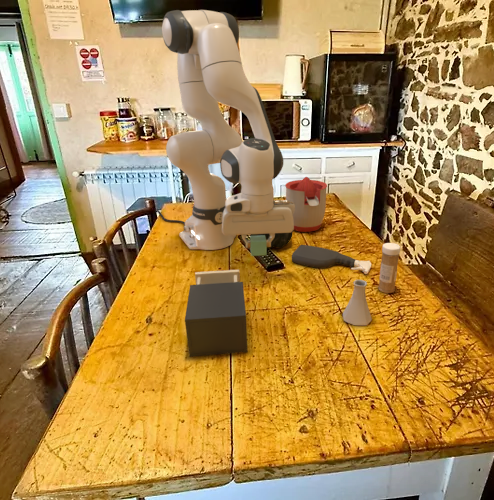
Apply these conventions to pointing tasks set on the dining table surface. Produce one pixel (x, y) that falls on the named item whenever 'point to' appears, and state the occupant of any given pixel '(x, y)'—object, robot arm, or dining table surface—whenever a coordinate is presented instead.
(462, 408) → the dining table surface
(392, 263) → the sprinkles bottle
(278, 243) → the squash
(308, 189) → the citrus juicer
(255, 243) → the block
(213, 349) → the dark grey box
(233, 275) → the tray
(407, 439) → the dining table surface
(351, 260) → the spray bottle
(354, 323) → the flask
